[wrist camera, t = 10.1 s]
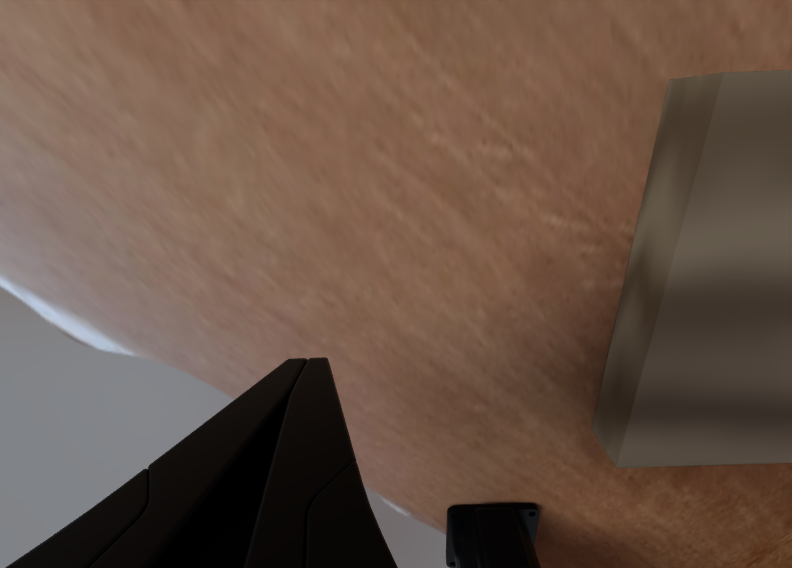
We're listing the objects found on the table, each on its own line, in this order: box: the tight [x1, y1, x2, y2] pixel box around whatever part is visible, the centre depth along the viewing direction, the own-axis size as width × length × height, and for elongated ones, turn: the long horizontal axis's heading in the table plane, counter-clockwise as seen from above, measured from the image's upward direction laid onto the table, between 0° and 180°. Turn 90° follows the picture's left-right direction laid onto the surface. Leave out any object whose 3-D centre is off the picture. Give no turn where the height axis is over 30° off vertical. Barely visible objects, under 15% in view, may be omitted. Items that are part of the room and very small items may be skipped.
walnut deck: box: [592, 70, 792, 468], centre depth 19 cm, size 20×14×3 cm
